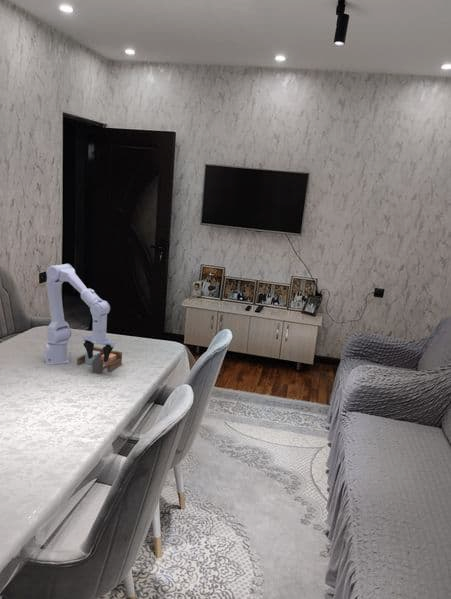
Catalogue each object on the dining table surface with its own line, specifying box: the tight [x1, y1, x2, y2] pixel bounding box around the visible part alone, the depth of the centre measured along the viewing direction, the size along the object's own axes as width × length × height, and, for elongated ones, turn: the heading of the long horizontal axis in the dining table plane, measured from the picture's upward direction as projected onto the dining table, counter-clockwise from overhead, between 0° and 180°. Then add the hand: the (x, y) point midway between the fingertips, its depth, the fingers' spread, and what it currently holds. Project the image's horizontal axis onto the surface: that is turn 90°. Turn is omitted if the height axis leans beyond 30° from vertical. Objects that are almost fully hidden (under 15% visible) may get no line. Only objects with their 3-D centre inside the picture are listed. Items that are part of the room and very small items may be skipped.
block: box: [84, 350, 101, 366], centre depth 210 cm, size 5×5×5 cm
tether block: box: [91, 353, 116, 375], centre depth 205 cm, size 5×13×6 cm, turn 163°
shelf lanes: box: [76, 345, 123, 373], centre depth 209 cm, size 17×10×6 cm, turn 73°
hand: (98, 359), depth 199 cm, fingers open, 7 cm apart
